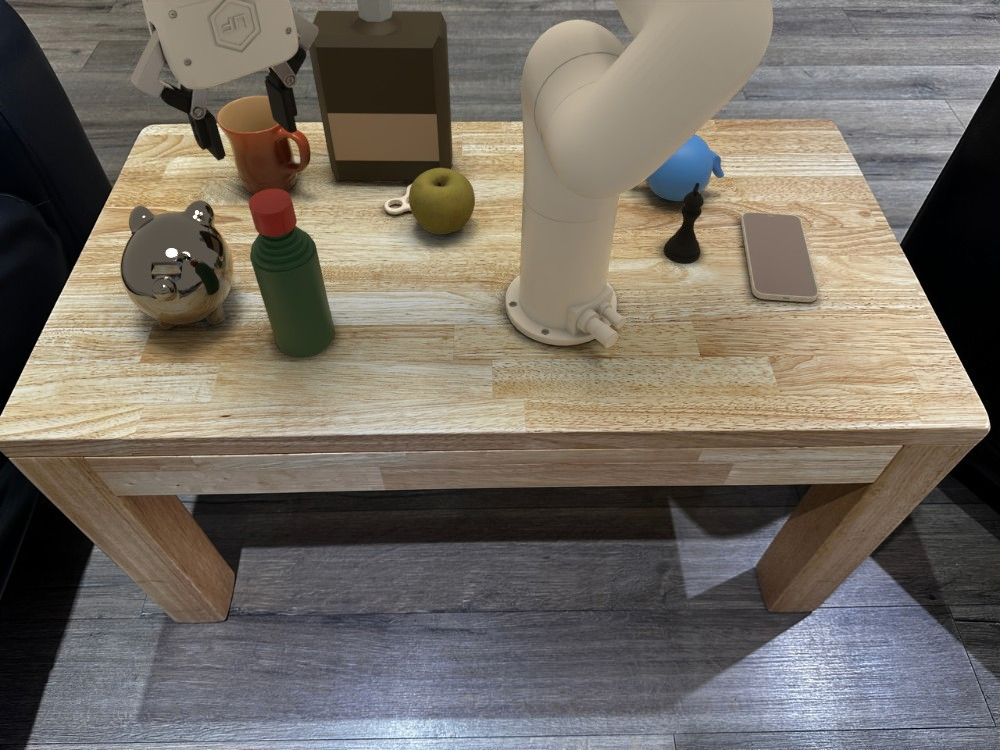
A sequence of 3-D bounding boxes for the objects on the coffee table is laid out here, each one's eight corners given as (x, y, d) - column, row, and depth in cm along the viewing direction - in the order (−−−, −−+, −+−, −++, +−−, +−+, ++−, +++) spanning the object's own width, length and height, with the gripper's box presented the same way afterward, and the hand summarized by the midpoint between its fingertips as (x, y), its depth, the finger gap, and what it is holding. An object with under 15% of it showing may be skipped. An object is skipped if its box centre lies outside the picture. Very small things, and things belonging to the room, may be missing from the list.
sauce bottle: (345, 339, 86) (318, 209, 73) (293, 366, 83) (256, 236, 70) (316, 307, 89) (285, 176, 76) (265, 332, 86) (223, 202, 73)
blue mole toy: (714, 163, 108) (728, 107, 102) (721, 216, 100) (736, 160, 94) (627, 157, 109) (635, 101, 102) (626, 210, 101) (635, 153, 95)
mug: (223, 191, 103) (201, 121, 95) (265, 157, 108) (248, 88, 100) (296, 218, 100) (280, 148, 92) (337, 182, 105) (324, 112, 97)
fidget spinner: (441, 215, 100) (441, 210, 99) (393, 227, 98) (392, 222, 98) (424, 184, 104) (423, 179, 103) (377, 195, 102) (376, 190, 102)
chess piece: (658, 257, 95) (673, 188, 87) (669, 236, 98) (684, 167, 90) (694, 267, 94) (711, 198, 86) (704, 246, 96) (722, 177, 89)
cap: (304, 226, 74) (299, 203, 72) (267, 242, 73) (261, 219, 71) (284, 205, 76) (278, 183, 74) (247, 221, 75) (241, 199, 73)
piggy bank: (248, 258, 94) (223, 178, 86) (241, 348, 85) (213, 268, 76) (152, 267, 93) (117, 187, 85) (134, 360, 84) (92, 280, 75)
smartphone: (754, 293, 90) (740, 211, 99) (752, 299, 90) (738, 217, 100) (820, 298, 89) (800, 215, 99) (817, 303, 90) (798, 220, 100)
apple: (404, 211, 100) (401, 165, 94) (465, 201, 102) (465, 155, 96) (419, 251, 96) (416, 205, 90) (481, 239, 97) (483, 193, 92)
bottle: (338, 151, 109) (306, -37, 90) (453, 152, 109) (445, -36, 90) (330, 186, 104) (294, -7, 85) (450, 187, 104) (441, -6, 85)
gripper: (85, -45, 48) (173, 197, 62) (329, -103, 56) (359, 124, 69) (45, -82, 52) (136, 154, 66) (278, -132, 59) (316, 89, 73)
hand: (250, 137), depth 67 cm, fingers open, 6 cm apart
